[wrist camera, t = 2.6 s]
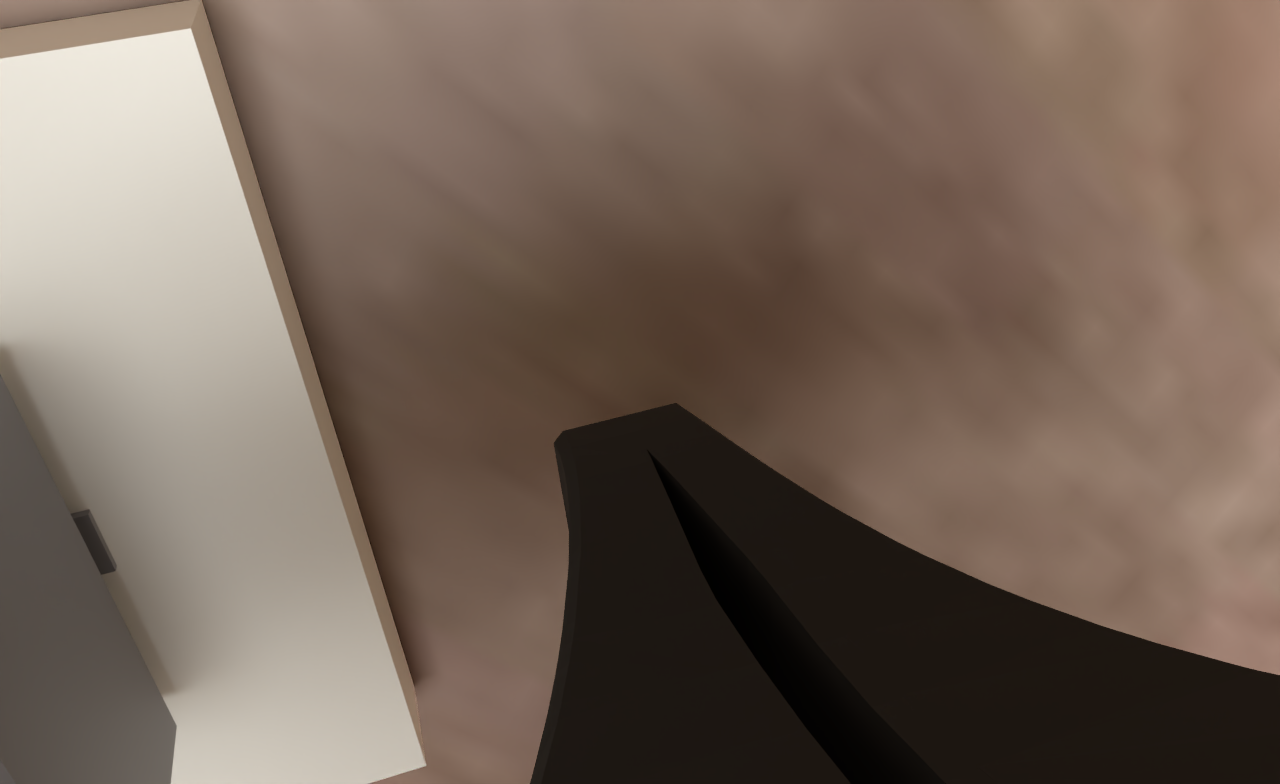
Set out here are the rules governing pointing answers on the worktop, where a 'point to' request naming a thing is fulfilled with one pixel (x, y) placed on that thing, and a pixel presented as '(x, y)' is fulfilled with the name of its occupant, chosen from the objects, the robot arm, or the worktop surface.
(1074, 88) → the worktop surface
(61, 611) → the fader
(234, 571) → the mixer panel
